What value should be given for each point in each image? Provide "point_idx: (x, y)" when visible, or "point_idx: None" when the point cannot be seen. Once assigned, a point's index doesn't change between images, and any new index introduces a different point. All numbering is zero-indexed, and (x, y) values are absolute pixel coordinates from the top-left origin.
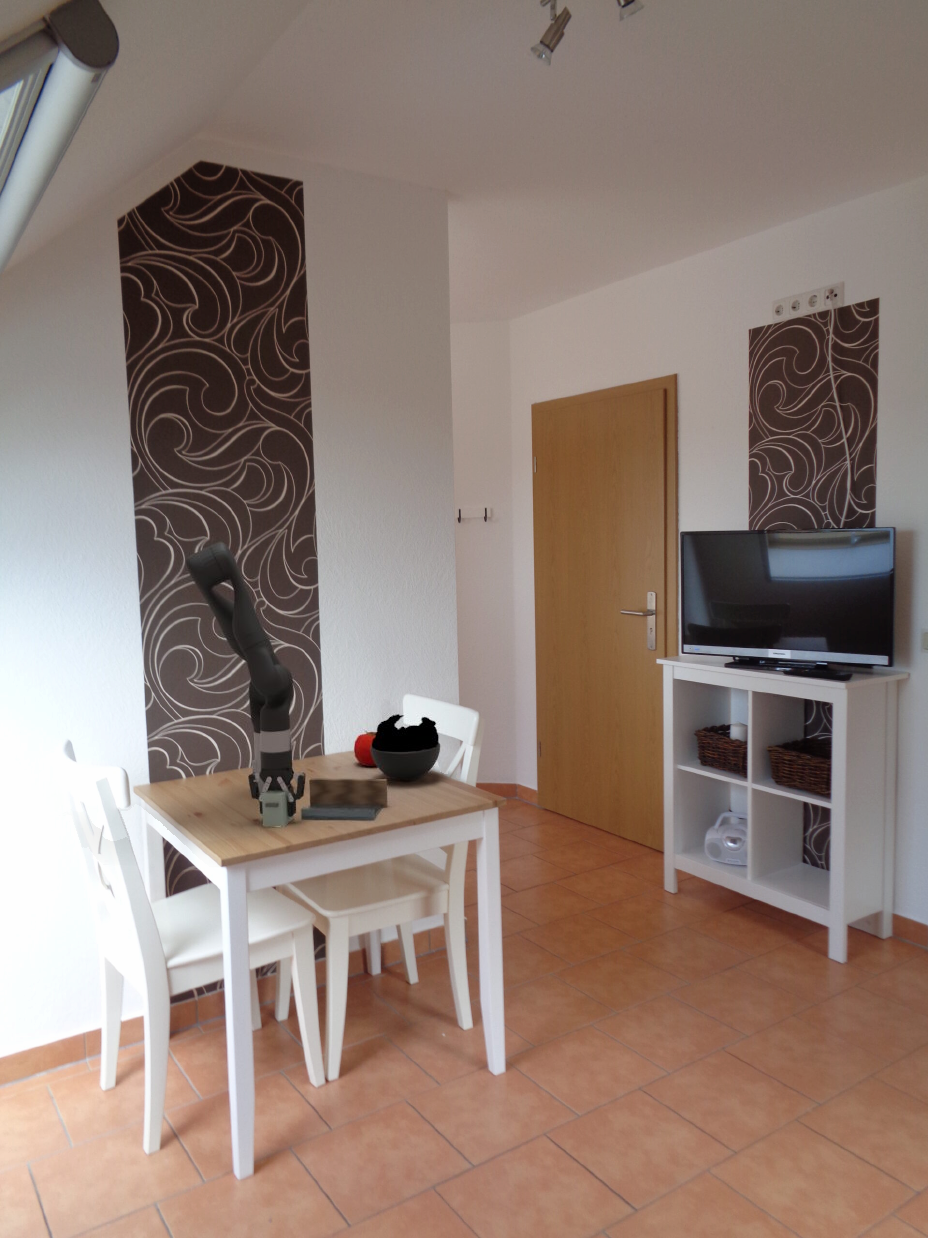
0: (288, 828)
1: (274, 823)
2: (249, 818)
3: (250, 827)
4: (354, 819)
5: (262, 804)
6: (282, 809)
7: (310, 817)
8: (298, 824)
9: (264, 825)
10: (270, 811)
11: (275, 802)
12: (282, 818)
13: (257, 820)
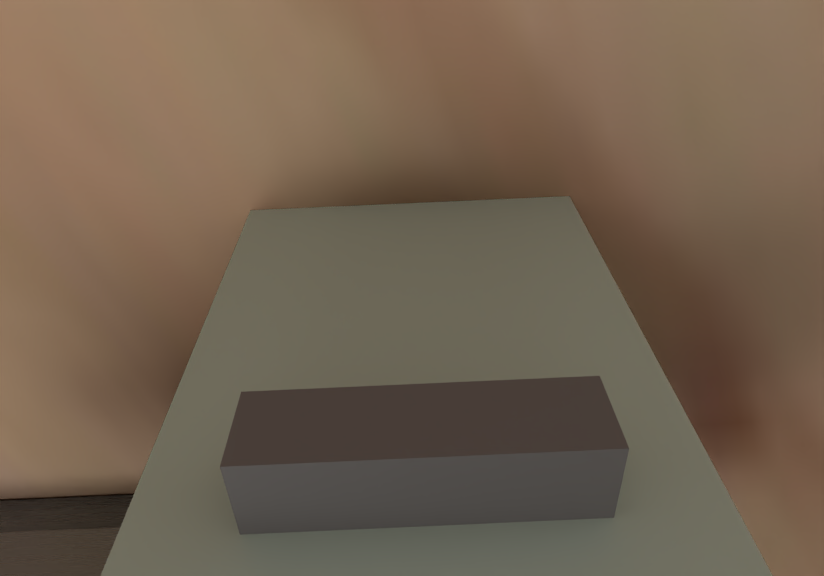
0: (139, 164)
1: (387, 229)
2: (808, 466)
3: (766, 154)
4: None
5: (715, 474)
6: (180, 408)
7: (68, 516)
8: (106, 340)
9: (553, 209)
10: (469, 356)
11: (330, 547)
12: (230, 284)
13: (703, 420)
